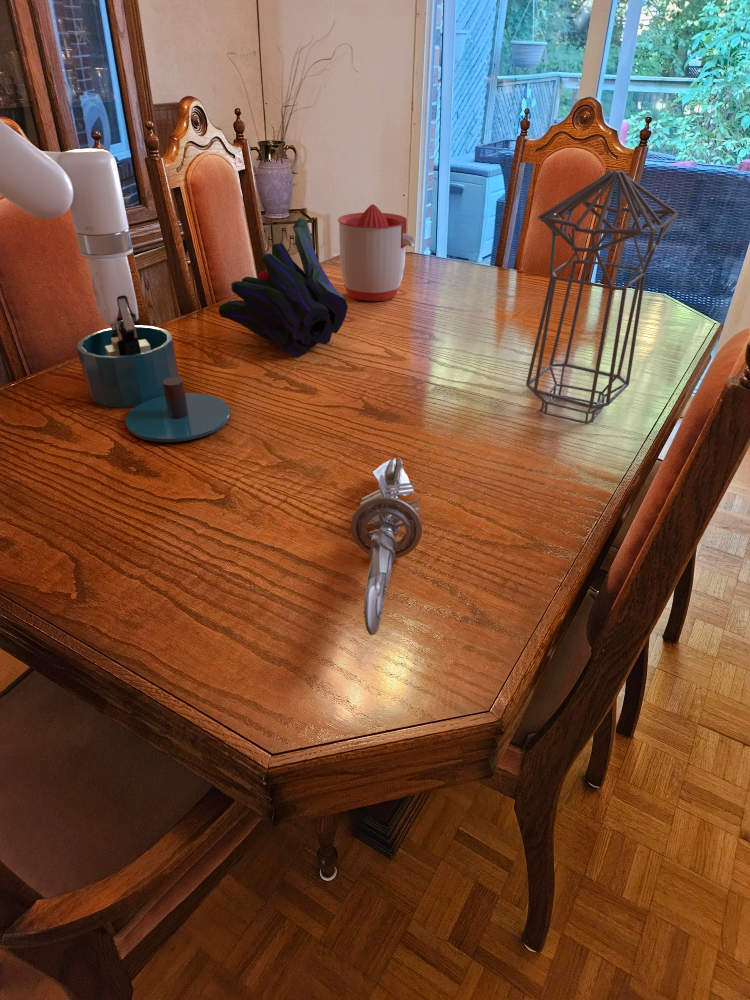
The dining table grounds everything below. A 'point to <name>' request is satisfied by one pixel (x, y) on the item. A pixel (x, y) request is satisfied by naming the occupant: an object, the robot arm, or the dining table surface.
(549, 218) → the geometric lantern
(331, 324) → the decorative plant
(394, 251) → the citrus juicer
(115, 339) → the toy car
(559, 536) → the dining table surface
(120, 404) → the pot
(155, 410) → the pot lid
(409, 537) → the spaceship
